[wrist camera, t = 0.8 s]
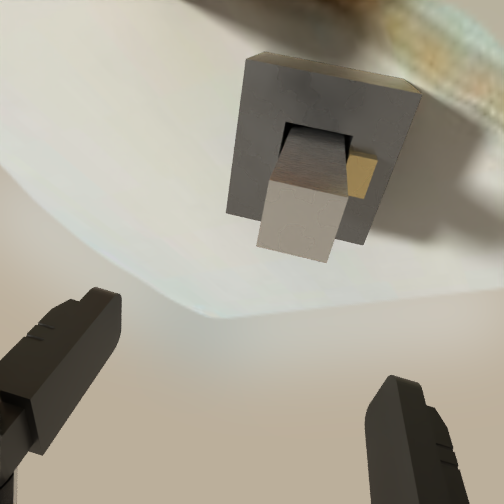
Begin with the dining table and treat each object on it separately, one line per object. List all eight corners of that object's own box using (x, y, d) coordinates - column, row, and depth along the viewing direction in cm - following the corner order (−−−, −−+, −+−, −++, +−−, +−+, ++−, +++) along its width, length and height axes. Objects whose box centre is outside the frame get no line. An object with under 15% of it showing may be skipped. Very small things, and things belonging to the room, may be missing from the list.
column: (342, 118, 33) (348, 197, 18) (330, 161, 35) (326, 263, 20) (299, 109, 33) (268, 179, 18) (289, 152, 35) (255, 246, 20)
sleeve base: (403, 78, 30) (426, 97, 23) (358, 205, 37) (364, 252, 29) (265, 51, 31) (242, 60, 24) (245, 180, 38) (222, 219, 30)
